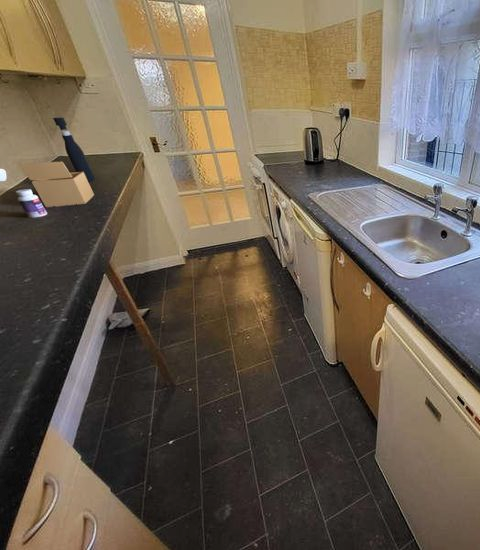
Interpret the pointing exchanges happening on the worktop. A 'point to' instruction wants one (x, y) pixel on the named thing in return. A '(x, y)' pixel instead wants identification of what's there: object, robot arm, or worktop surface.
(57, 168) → the carton flap
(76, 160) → the folded umbrella
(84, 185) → the carton
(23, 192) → the pill bottle
